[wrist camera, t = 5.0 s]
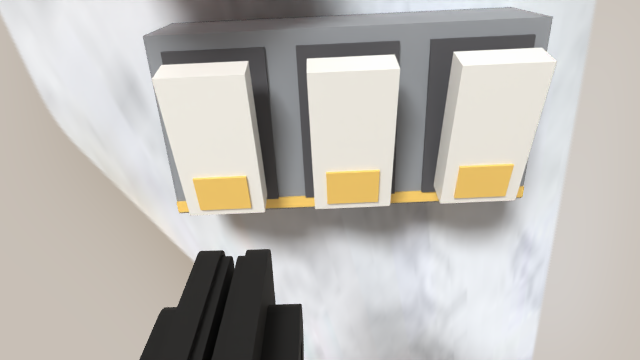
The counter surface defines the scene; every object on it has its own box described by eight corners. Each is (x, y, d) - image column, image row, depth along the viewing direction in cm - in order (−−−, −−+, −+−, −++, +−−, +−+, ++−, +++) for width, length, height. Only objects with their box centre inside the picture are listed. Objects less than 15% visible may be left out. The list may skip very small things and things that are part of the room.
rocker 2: (306, 58, 18) (306, 74, 17) (394, 54, 18) (400, 70, 17) (314, 190, 23) (314, 210, 21) (385, 187, 23) (390, 207, 21)
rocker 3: (453, 51, 18) (463, 67, 17) (541, 47, 18) (558, 62, 17) (433, 185, 23) (440, 205, 21) (505, 182, 23) (516, 202, 21)
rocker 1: (161, 64, 18) (150, 80, 17) (248, 60, 18) (243, 76, 17) (196, 197, 23) (189, 217, 21) (267, 194, 23) (264, 213, 21)
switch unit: (172, 23, 24) (141, 36, 20) (511, 7, 24) (555, 17, 19) (200, 180, 28) (179, 220, 24) (489, 167, 28) (521, 205, 23)
